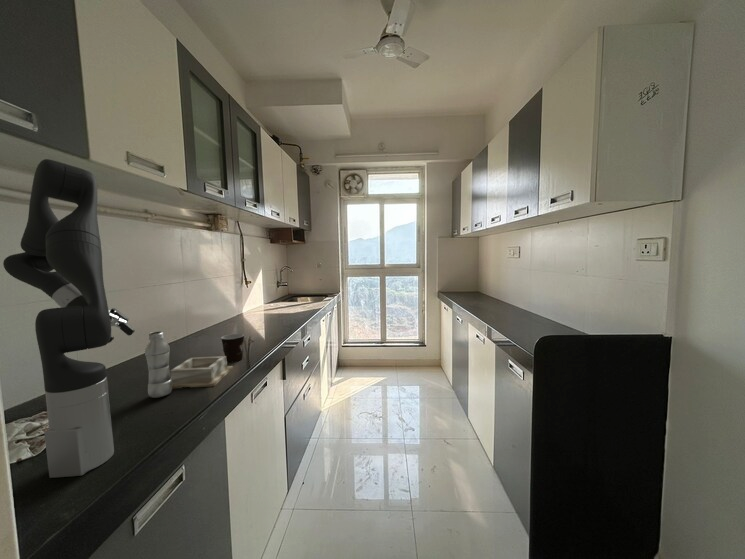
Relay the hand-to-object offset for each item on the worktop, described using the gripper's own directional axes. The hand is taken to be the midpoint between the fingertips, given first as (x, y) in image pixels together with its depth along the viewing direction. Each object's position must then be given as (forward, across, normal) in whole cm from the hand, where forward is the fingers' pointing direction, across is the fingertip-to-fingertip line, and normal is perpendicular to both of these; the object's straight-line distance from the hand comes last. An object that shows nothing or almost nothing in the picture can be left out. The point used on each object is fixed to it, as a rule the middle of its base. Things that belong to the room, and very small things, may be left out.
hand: (122, 336), depth 92 cm
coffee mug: (+28, +30, 0) cm, 41 cm away
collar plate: (+25, +13, +2) cm, 28 cm away
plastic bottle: (+21, 0, +7) cm, 22 cm away
